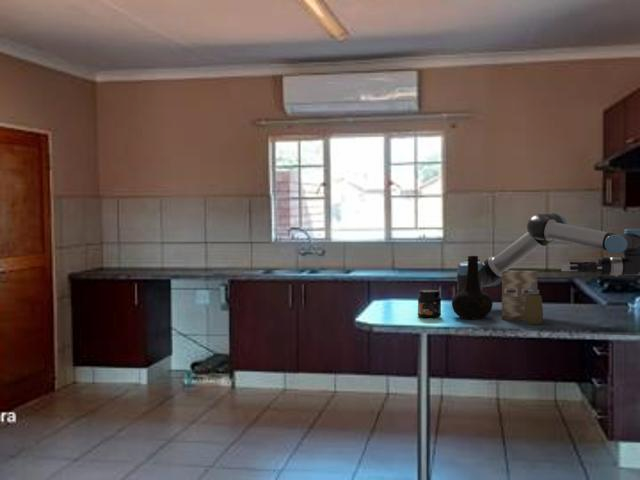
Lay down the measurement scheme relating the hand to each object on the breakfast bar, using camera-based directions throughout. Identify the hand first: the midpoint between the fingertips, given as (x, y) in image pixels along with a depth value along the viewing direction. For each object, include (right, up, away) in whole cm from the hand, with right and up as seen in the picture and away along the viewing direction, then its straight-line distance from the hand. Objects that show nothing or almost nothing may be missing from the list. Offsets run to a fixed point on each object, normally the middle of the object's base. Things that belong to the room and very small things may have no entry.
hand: (557, 266), depth 320 cm
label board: (-12, -24, +15) cm, 31 cm away
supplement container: (-51, -24, +23) cm, 61 cm away
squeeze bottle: (-10, -25, +2) cm, 27 cm away
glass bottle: (-32, -24, +20) cm, 45 cm away
